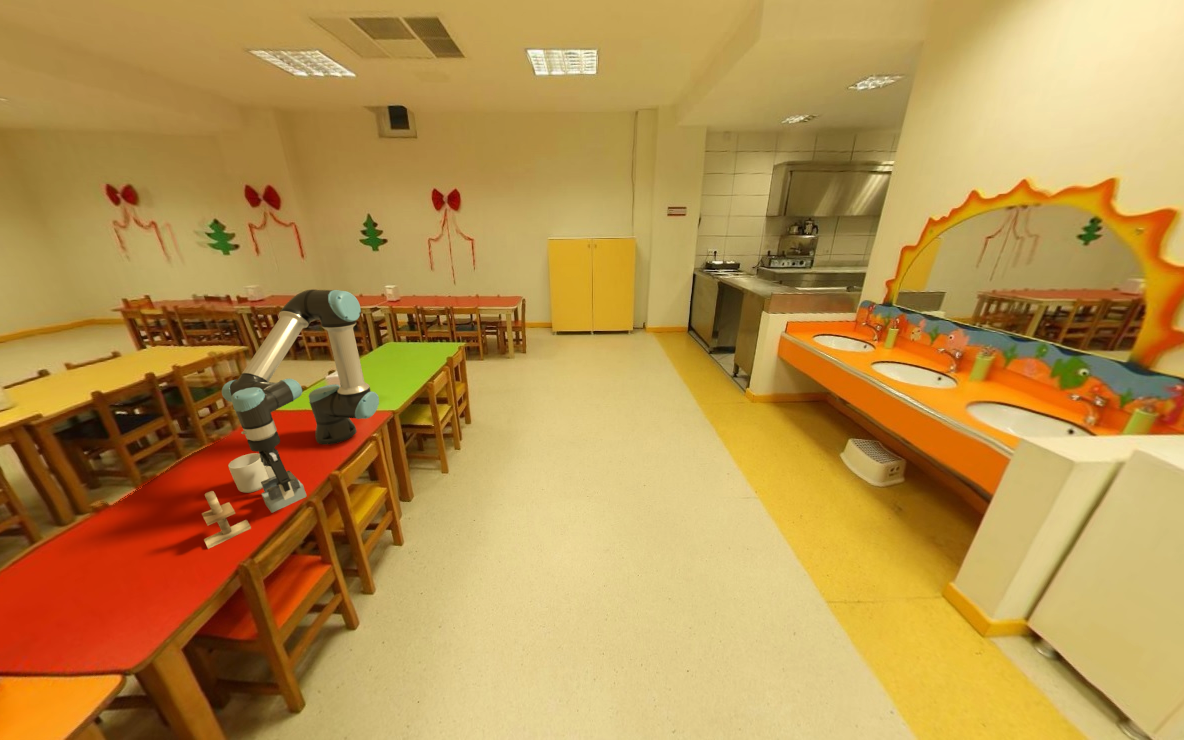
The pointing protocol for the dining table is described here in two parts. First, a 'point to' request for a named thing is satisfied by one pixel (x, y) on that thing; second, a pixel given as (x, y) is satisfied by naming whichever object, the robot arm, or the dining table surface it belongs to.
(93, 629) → the dining table surface
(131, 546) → the dining table surface
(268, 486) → the c link
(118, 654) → the dining table surface
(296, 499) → the block
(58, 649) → the dining table surface
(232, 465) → the mug
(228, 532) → the stand
